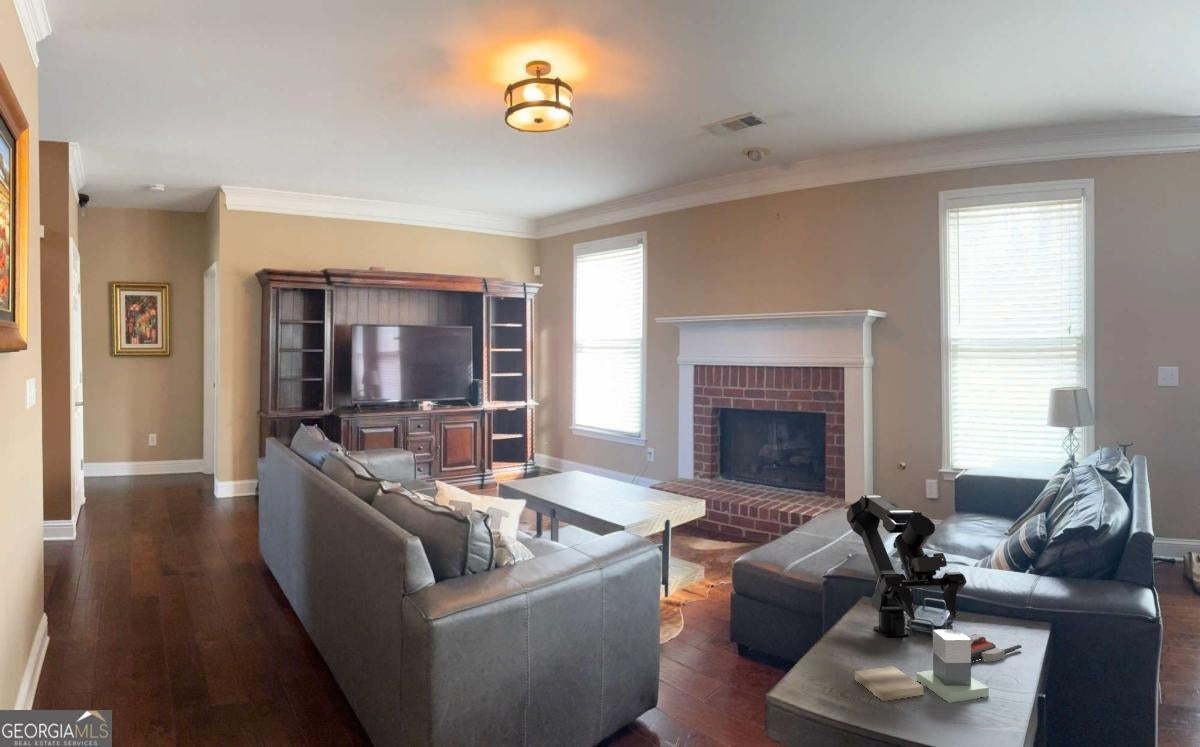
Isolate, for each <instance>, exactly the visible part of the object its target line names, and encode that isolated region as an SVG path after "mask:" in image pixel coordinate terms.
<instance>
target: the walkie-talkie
mask: <svg viewBox="0 0 1200 747" xmlns="http://www.w3.org/2000/svg"><path fill="white" fill-rule="evenodd" d="M966 636H967V637H968V638H969V639H971V662H973V661H976V660H979V659H981V660H986V661H994V662H997V661H1000V660H1004V659H1005V656H1006V655H1007V654H1009V653H1014V652H1016V650H1019V649H1022V645H1021V644H1017V645H1013V646H1009V647H1007V648H1004V649H1000V648H998V647H996V644H995V643H993V642H991V641H988V640H987V638H986V637H984V636H982V635H979V634H976V633H974V634H971V635H966ZM999 659H1000V660H999ZM996 660H997V661H996ZM986 661H985V662H986Z"/></svg>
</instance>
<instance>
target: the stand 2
mask: <svg viewBox="0 0 1200 747" xmlns="http://www.w3.org/2000/svg"><path fill="white" fill-rule="evenodd" d="M915 673H916V680H917V681H919V682H921V683H922V684H924V685H925V686H927V687H928V688H930V689H931V690H932V691H934V692H935V693H936V694H938V695H939V696H941V697H942V698H943V699H942V698H941V697H940V698H941V699H942V700H944V701H945V700H946V701H945V702H946V703H948V704H950V703H956V702H957V703H958V702H963V701H970V700H976V699H977V698H978V699H981V698H980V697H984V698H988V697H987V696H989V697H990V695H989V694H990V693H989V690H990V689H989V686H987V685H985V684H984V683H982V682H980V681H978V680H977V679H975V678H974V677H972V676H971V686H945V685H944V684H943V683H942V682H941V681H940V680H939V679H938V678H937V677H936V676H935V675H933V669H930V670H923V671H917V672H915ZM916 680H915V681H916ZM917 681H916V682H917ZM919 682H918V683H919ZM922 684H921V685H922ZM932 691H931V692H932ZM935 693H934V694H935ZM936 694H935V695H936ZM938 695H937V696H938ZM939 696H938V697H939Z"/></svg>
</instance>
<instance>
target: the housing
mask: <svg viewBox="0 0 1200 747" xmlns="http://www.w3.org/2000/svg"><path fill="white" fill-rule="evenodd" d="M967 636H968V635H966V634H964V633H963V632H962V631H960V630H959V629H933V630H932V670H933V675H935V676H936V677H937V678H938V679H939V680H940V681H941V682H942V683H943V684H944V685H945V686H971V677H972V663H971V639H969V638H968V637H967Z"/></svg>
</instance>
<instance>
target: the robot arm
mask: <svg viewBox="0 0 1200 747" xmlns="http://www.w3.org/2000/svg"><path fill="white" fill-rule="evenodd" d="M846 520H847V522H848V524H849V526H850V527H851V530H852V531H853V532H854V533H856V534H857V535H858V536H860V537H861V540H862V542H863V544H864V547H865V550H866V552H867V554H868V557H869V560H870V562H871V565H872V568H873V570H874V573H875V576H876V578H877V583H876V586H875V591H874V593H873V594H872V596H871V598H870V600H871V606H872V608H873V609H875V611H877V612H878V625H875V626H873V630H875V631H876V632H878V633H879V634H880V635H881V634H882V635H883V636H884V637H887V638H898V637H904V635H907V636H910V633H909V632H908V631H906V630H905V629H906V628H905V627H906V626H905V624H906V622H905V621H906V619H905V613H906V615H907V616H908V617H909V618H910V620H912V621H915V620H916V616H915V612H914V609H913V603H914V594H913V590H912V589H915V588H918V589H919V588H939V587H940V589H941V591H943V593H942V598H943V600H944V602H945V605H946V607H947V610H948V612H949V615H950V616H951V618H952V619H953V620H954V619H956V618H957V616H956V614H957V607H956V606H957V605H956V604H957V600H956V599H957V594H958V593H959V592H961V591H962V589H963V588H964V586H965V585H966V584H967V579H966V576H965V575H964V574H963V573H962V572H961V571H953V572H951V571H950V572H949V571H947V572H945V573H944V574H943V575H942V577H939V578H938V577H936V578H935V576H936V574H938V573H937V571H939V572H940V571H941V568H945V567H947V565H948V562H947V559H946V556H945V554H944V552H936V553H933V555H932V556H929V555H928V554H925V552H924V549H923V547H924V546H925V545H926V544H927V543H928V541H929V540H930V538H932V536H933V534H934V533H935V531H936V526H935V524H934V522H933V521H932V520H931V519H930V518H928V517H927V516H925V515H923V514H922V511H913V510H912V509H907V508H899V507H896V506H894V505H893V504H891V503H889V502H888V501H886V500H885V499H883V498H882V496H881V495H878V494H863V495H862V496H860V498H859V500H858V499H857V501H855V502H853V503H851V504H850V506H849V507H848V509H847V511H846ZM881 521H882V528H884V529H885V531H886V532H887V533H889V534H898V535H897V536H896V537H895V539H894V542H893V544H892V547H893V548H894V549H896V550H897V553H898V556H899V559H900V562H901V564H900V569H901V570H903V571H904V573H897V572H896V570H895V568H894V567H893V566H894V565H893V563H892V561H891V559H890V557H889V554H888V551H887V549H886V547H885V544H884V542H883V540H882V537H881V534H880V532H879V530H878V529H879V525H880V522H881Z"/></svg>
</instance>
